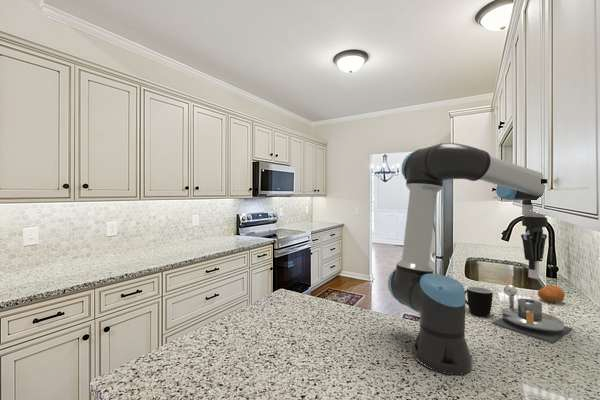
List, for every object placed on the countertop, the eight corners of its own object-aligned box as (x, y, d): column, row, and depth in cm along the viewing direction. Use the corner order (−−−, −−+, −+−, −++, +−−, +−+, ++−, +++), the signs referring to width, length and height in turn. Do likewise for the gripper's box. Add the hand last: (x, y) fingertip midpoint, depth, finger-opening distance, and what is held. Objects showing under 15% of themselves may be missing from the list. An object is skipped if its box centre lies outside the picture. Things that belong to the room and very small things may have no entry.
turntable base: (553, 343, 93) (553, 337, 93) (492, 323, 109) (492, 318, 109) (572, 329, 104) (572, 324, 104) (514, 313, 119) (514, 308, 120)
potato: (571, 304, 132) (571, 288, 132) (552, 306, 129) (552, 289, 129) (549, 298, 141) (549, 282, 141) (531, 299, 138) (531, 284, 138)
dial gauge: (515, 315, 117) (515, 287, 118) (503, 312, 121) (503, 284, 121) (519, 313, 120) (519, 285, 120) (507, 310, 123) (507, 283, 123)
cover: (537, 323, 101) (537, 304, 101) (514, 316, 107) (514, 298, 107) (545, 319, 105) (545, 301, 105) (522, 312, 110) (522, 295, 111)
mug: (497, 316, 116) (497, 291, 116) (482, 319, 113) (482, 293, 113) (470, 306, 127) (470, 283, 127) (455, 309, 124) (455, 285, 124)
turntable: (554, 336, 94) (554, 319, 94) (493, 317, 109) (493, 303, 109) (571, 324, 104) (571, 309, 104) (513, 308, 119) (513, 295, 119)
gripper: (536, 216, 103) (535, 281, 103) (555, 216, 109) (554, 278, 108) (513, 215, 110) (512, 276, 110) (532, 216, 116) (532, 274, 115)
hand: (533, 277), depth 109 cm, fingers closed
